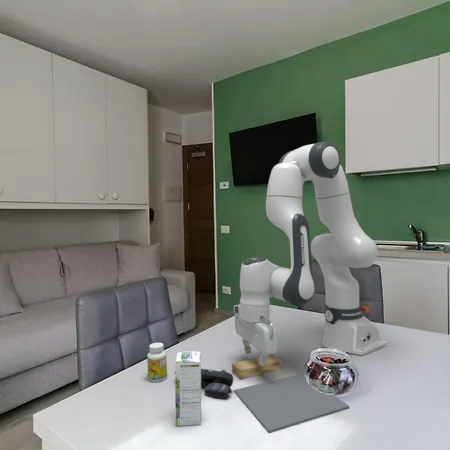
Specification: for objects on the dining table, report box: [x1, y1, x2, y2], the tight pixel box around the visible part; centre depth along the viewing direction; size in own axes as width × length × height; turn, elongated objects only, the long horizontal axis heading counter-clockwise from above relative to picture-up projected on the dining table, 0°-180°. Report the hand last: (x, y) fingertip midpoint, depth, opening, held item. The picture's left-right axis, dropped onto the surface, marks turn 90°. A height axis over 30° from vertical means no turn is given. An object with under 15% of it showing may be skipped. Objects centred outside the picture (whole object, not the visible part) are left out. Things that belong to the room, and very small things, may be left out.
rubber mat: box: [233, 372, 350, 434], centre depth 83 cm, size 22×18×1 cm
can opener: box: [201, 368, 234, 399], centre depth 90 cm, size 18×7×6 cm, turn 63°
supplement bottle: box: [146, 342, 168, 383], centre depth 96 cm, size 5×5×10 cm
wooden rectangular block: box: [231, 354, 282, 380], centre depth 99 cm, size 14×5×3 cm, turn 116°
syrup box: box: [174, 350, 202, 427], centre depth 76 cm, size 6×6×14 cm
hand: (254, 358), depth 99 cm, fingers open, 8 cm apart
